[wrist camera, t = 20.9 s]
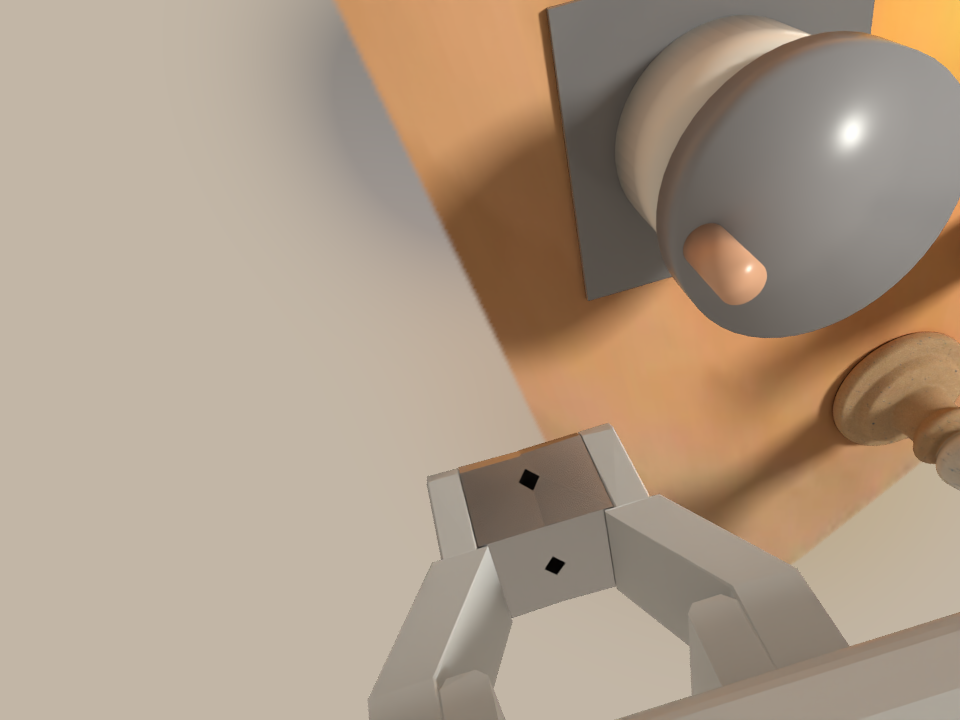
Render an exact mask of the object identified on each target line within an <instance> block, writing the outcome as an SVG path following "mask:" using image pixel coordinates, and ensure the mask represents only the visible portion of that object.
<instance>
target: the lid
mask: <svg viewBox="0 0 960 720" xmlns="http://www.w3.org/2000/svg"><path fill="white" fill-rule="evenodd" d="M959 197H960V84H959V82H958V81H957V80H956V79H955V77H954V76H953V75H952V74H951V72H950V71H949V70H948V69H947V68H946V67H944V66H943V65H942V64H941V63H939V62H938V61H937V60H936V59H934V58H932V57H930V56H928V55H926V54H924V53H922V52H920V51H918V50H915V49H912V48H909V47H907V46H904V45H901V44H898V43H895V42H893V41H890V40H887V39H884V38H882V37H878V36H875V35H871V34H867V33H863V32H853V31H835V32H824V33H819V34H814V35H810V36H805V37H802V38H799V39H797V40H794V41H791V42H788V43H786V44H783V45H781V46H779V47H777V48H775V49H773V50H771V51H769V52H767V53H765V54H763V55H762V56H760V57H759V58H757V59H756V60H754V61H752V62H751V63H749V64H748V65H746V66H745V67H743V68H742V69H741V70H740V71H738V72H737V73H736V74H735V75H733V76H732V77H731V78H730V79H729V80H727V81H726V82H725V83H724V84H723V85H722V86H721V87H720V88H719V89H718V90H717V91H716V92H715V93H714V94H713V95H712V96H711V97H710V98H709V99H708V100H707V101H706V103H705V104H704V105H703V106H702V108H701V109H700V110H699V111H698V112H697V114H696V115H695V116H694V117H693V119H692V120H691V122H690V123H689V125H688V126H687V128H686V129H685V131H684V133H683V134H682V136H681V137H680V139H679V141H678V143H677V145H676V147H675V149H674V151H673V153H672V155H671V157H670V160H669V162H668V165H667V167H666V170H665V172H664V175H663V179H662V183H661V187H660V190H659V195H658V202H657V210H656V231H657V238H658V245H659V248H660V252H661V255H662V258H663V261H664V263H665V265H666V267H667V269H668V271H669V273H670V274H671V276H672V277H673V278H674V280H675V281H676V282H677V284H678V285H679V286H680V287H681V288H682V290H683V291H684V292H685V293H686V295H687V296H688V297H689V298H690V299H691V301H692V302H693V303H694V304H695V305H696V307H697V308H698V309H699V310H700V311H701V312H702V313H703V314H704V315H705V316H706V317H707V318H709V319H710V320H711V321H713V322H714V323H716V324H717V325H719V326H721V327H722V328H725V329H727V330H729V331H732V332H734V333H738V334H742V335H746V336H750V337H760V338H781V337H788V336H795V335H800V334H804V333H808V332H812V331H815V330H818V329H821V328H824V327H826V326H829V325H832V324H834V323H836V322H838V321H840V320H843V319H845V318H847V317H849V316H850V315H852V314H854V313H856V312H857V311H859V310H861V309H863V308H864V307H866V306H867V305H869V304H870V303H872V302H873V301H875V300H876V299H878V298H879V297H880V296H882V295H883V294H884V293H885V292H887V291H888V290H889V289H890V288H892V287H893V286H894V285H895V284H896V283H897V282H899V281H900V280H901V279H902V278H903V277H904V276H905V275H906V274H907V273H908V272H909V271H910V270H911V269H912V268H913V267H914V266H915V265H916V264H917V262H918V261H919V260H920V259H921V258H922V257H923V256H924V255H925V253H926V252H927V251H928V249H929V248H930V247H931V245H932V244H933V243H934V241H935V240H936V239H937V237H938V236H939V234H940V233H941V231H942V229H943V228H944V226H945V225H946V223H947V222H948V220H949V218H950V216H951V214H952V212H953V210H954V208H955V206H956V204H957V202H958V200H959Z"/></svg>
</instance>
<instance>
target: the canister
mask: <svg viewBox="0 0 960 720" xmlns="http://www.w3.org/2000/svg"><path fill="white" fill-rule="evenodd" d="M874 1H875V0H574V1H570V2H567V3H563V4H559V5H556V6H552V7H549V8H546V10H547V17H548V24H549V32H550V39H551V46H552V53H553V60H554V68H555V75H556V82H557V89H558V97H559V104H560V111H561V118H562V125H563V133H564V140H565V147H566V154H567V161H568V169H569V176H570V183H571V190H572V197H573V205H574V212H575V219H576V226H577V233H578V241H579V248H580V255H581V262H582V270H583V277H584V284H585V291H586V298H587V300H588V301H590V300H594V299H597V298H601V297H604V296H607V295H611V294H614V293H618V292H621V291H625V290H628V289H631V288H635V287H638V286H642V285H645V284H648V283H652V282H655V281H659V280H662V279H666V278H669V277H672V276H671V274H670V273H669V271H668V269H667V267H666V265H665V263H664V261H663V258H662V255H661V252H660V248H659V245H658V238H657V231H656V210H657V202H658V195H659V190H660V187H661V183H662V179H663V175H664V172H665V170H666V167H667V165H668V162H669V160H670V157H671V155H672V153H673V151H674V149H675V147H676V145H677V143H678V141H679V139H680V137H681V136H682V134H683V133H684V131H685V129H686V128H687V126H688V125H689V123H690V122H691V120H692V119H693V117H694V116H695V115H696V114H697V112H698V111H699V110H700V109H701V108H702V106H703V105H704V104H705V103H706V101H707V100H708V99H709V98H710V97H711V96H712V95H713V94H714V93H715V92H716V91H717V90H718V89H719V88H720V87H721V86H722V85H723V84H724V83H725V82H726V81H727V80H729V79H730V78H731V77H732V76H733V75H735V74H736V73H737V72H738V71H740V70H741V69H742V68H743V67H745V66H746V65H748V64H749V63H751V62H752V61H754V60H756V59H757V58H759V57H760V56H762V55H763V54H765V53H767V52H769V51H771V50H773V49H775V48H777V47H779V46H781V45H783V44H786V43H788V42H791V41H794V40H797V39H799V38H802V37H805V36H810V35H814V34H819V33H824V32H835V31H853V32H863V33H867V34H871V26H872V18H873V9H874Z"/></svg>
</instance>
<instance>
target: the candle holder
mask: <svg viewBox="0 0 960 720" xmlns="http://www.w3.org/2000/svg"><path fill="white" fill-rule="evenodd" d="M959 394H960V344H959V343H958V342H957V341H956V340H955V339H953V338H951V337H949V336H947V335H945V334H941V333H937V332H919V333H913V334H909V335H905V336H902V337H900V338H897V339H895V340H892V341H890V342H888V343H886V344H884V345H883V346H881V347H879V348H878V349H876V350H875V351H873V352H872V353H871V354H869V355H868V356H866V357H865V358H864V359H863V360H862V361H861V362H860V363H858V364H857V365H856V366H855V368H854V369H853V370H852V371H851V372H850V373H849V374H848V376H847V377H846V378H845V380H844V381H843V383H842V384H841V386H840V388H839V390H838V392H837V394H836V397H835V400H834V405H833V417H834V422H835V424H836V426H837V428H838V429H839V431H840V432H841V433H842V434H843V435H844V436H845V437H846V438H848V439H849V440H851V441H853V442H855V443H858V444H861V445H867V446H878V445H886V444H890V443H894V442H898V441H900V440H903V439H907V438H910V439H911V440H912V441H913V451H914V454H915V456H916V457H917V458H918V459H919V460H920V461H922V462H925V463H929V464H936V470H937V473H938V474H939V476H940V478H941V479H942V480H943V481H944V482H945V483H947V484H949V485H950V486H952V487H954V488H956V489H958V490H960V407H958V406H957V405H956V404H955V401H956V399H957V397H958V396H959Z"/></svg>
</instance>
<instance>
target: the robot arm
mask: <svg viewBox="0 0 960 720" xmlns="http://www.w3.org/2000/svg"><path fill="white" fill-rule="evenodd" d="M427 488H428V493H429V498H430V503H431V509H432V513H433V518H434V524H435V529H436V535H437V539H438V545H439V550H440V555H441V560H439V561H436V562H433V563H432V564H431V566H430V569H429V571H428V573H427V575H426V577H425V579H424V581H423V583H422V585H421V588H420V590H419V592H418V594H417V596H416V598H415V600H414V602H413V605H412V607H411V609H410V611H409V613H408V615H407V617H406V620H405V622H404V624H403V626H402V628H401V630H400V632H399V634H398V636H397V639H396V641H395V643H394V645H393V647H392V650H391V651H390V653H389V656H388V658H387V660H386V662H385V664H384V666H383V669H382V671H381V673H380V675H379V677H378V679H377V681H376V683H375V685H374V687H373V690H372V692H371V694H370V696H369V698H368V708H369V720H505V717H504V715H503V712H502V710H501V707H500V705H499V702H498V699H497V697H496V694H495V692H494V689H493V688H494V685H495V681H496V678H497V674H498V671H499V667H500V664H501V660H502V657H503V653H504V650H505V646H506V643H507V639H508V635H509V632H510V629H511V625H512V619H511V618H514V617H517V616H520V615H523V614H526V613H529V612H531V611H535V610H537V609H541V608H544V607H547V606H549V605H552V604H556V603H559V602H561V601H565V600H568V599H572V598H576V597H579V596H583V595H586V594H590V593H594V592H597V591H601V590H604V589H608V588H612V587H615V586H616V587H617V589H618V590H619V591H620V592H622V593H623V594H624V595H626V596H627V597H628V598H629V599H630V600H632V601H633V602H634V603H635V604H637V605H638V606H639V607H641V608H642V609H643V610H644V611H646V612H647V613H648V614H649V615H651V616H652V617H653V618H654V619H656V620H657V621H658V622H659V623H661V624H662V625H664V626H665V627H666V628H667V629H668V630H670V631H671V632H672V633H673V634H675V635H676V636H677V637H679V638H680V639H681V640H682V641H684V642H685V643H686V644H687V645H689V646H690V667H691V688H692V696H690V697H686V698H683V699H680V700H677V701H674V702H670V703H667V704H664V705H661V706H657V707H654V708H651V709H648V710H645V711H641V712H639V713H635V714H632V715H629V716H626V717H623V718H619V719H616V720H960V612H959V613H956V614H952V615H949V616H946V617H943V618H940V619H936V620H933V621H930V622H927V623H924V624H921V625H917V626H914V627H911V628H908V629H904V630H901V631H898V632H895V633H892V634H888V635H885V636H882V637H879V638H876V639H873V640H869V641H866V642H863V643H860V644H856V645H853V646H849V645H848V643H847V642H846V640H845V639H844V637H843V636H842V634H841V633H840V631H839V630H838V628H837V627H836V625H835V624H834V622H833V621H832V619H831V618H830V617H829V615H828V614H827V612H826V611H825V609H824V608H823V606H822V605H821V603H820V602H819V600H818V599H817V597H816V596H815V594H814V593H813V592H812V590H811V588H810V587H809V585H808V584H807V582H806V581H805V579H804V578H803V576H802V575H801V573H800V572H799V570H798V569H797V568H795V567H793V566H791V565H790V564H788V563H786V562H784V561H782V560H780V559H778V558H777V557H775V556H773V555H771V554H769V553H767V552H765V551H764V550H762V549H760V548H758V547H756V546H754V545H753V544H751V543H749V542H747V541H745V540H743V539H741V538H740V537H738V536H736V535H734V534H732V533H730V532H728V531H727V530H725V529H723V528H721V527H719V526H717V525H715V524H714V523H712V522H710V521H708V520H706V519H704V518H703V517H701V516H699V515H697V514H695V513H693V512H691V511H690V510H688V509H686V508H684V507H682V506H680V505H678V504H677V503H675V502H673V501H671V500H669V499H667V498H665V497H664V496H662V495H660V494H658V495H654V496H651V497H650V496H649V494H648V492H647V490H646V488H645V486H644V484H643V482H642V481H641V479H640V477H639V475H638V473H637V471H636V469H635V467H634V465H633V464H632V462H631V460H630V458H629V456H628V454H627V452H626V450H625V448H624V447H623V445H622V443H621V441H620V439H619V437H618V435H617V433H616V431H615V430H614V428H613V426H612V425H610V424H609V423H606V424H603V425H600V426H596V427H593V428H590V429H587V430H583V431H580V432H578V433H574V434H570V435H567V436H564V437H561V438H557V439H554V440H551V441H548V442H544V443H541V444H538V445H535V446H532V447H528V448H525V449H522V450H519V451H517V452H514V453H510V454H506V455H502V456H499V457H495V458H491V459H488V460H484V461H481V462H477V463H473V464H469V465H466V466H462V467H459V469H458V468H457V469H453V470H450V471H446V472H442V473H439V474H435V475H431V476H428V477H427Z"/></svg>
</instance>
